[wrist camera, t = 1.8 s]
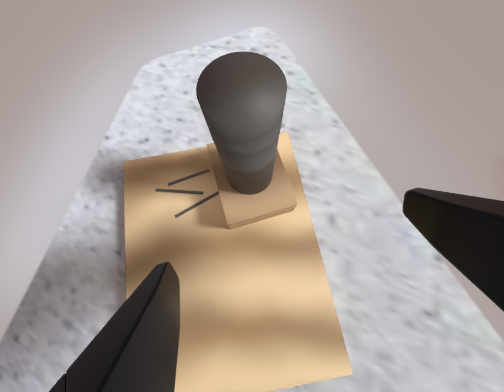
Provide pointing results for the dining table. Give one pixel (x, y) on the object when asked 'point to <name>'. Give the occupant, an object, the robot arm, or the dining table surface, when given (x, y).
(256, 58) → the rubber stamp
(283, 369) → the pine board
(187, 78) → the dining table surface
